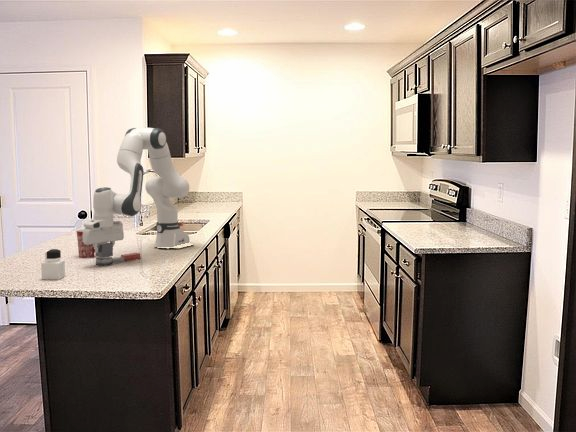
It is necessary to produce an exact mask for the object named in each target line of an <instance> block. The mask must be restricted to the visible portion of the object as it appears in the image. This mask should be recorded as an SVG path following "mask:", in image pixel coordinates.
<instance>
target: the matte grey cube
mask: <svg viewBox="0 0 576 432" xmlns="http://www.w3.org/2000/svg"><path fill="white" fill-rule="evenodd" d="M97 247H98V249H100V253H94V256H95V257H102V258H103V257H113V256H114V254H113V253H114V246H113V243H110V242H104V243H98V246H97Z"/></svg>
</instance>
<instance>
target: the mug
mask: <svg viewBox="0 0 576 432" xmlns="http://www.w3.org/2000/svg"><path fill="white" fill-rule="evenodd" d="M83 230H84V228H82V229H80V228H79V229H76V231H75V232H76V237H77V249H78V250H77V251H78V257H79V258H83V259H85V258H86V259H87V258H93V257H94V256H95V248H94V247H93V244H89V245H88V244H84V243H83Z"/></svg>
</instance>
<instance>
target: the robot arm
mask: <svg viewBox="0 0 576 432" xmlns="http://www.w3.org/2000/svg"><path fill="white" fill-rule="evenodd" d="M144 150H147V153H148V157H149V161H150V165H151V169H152V171H153V173H155V174H157V175H158V176H155V177H149V178H147V180H146V182H145V191H146V193H147V194H148V195H149V196H150V198H151V199H152V200H153V202H154V205H155V208H156V218H157V219H156V236H155V237H156V238H155V243H154V248H155V247H174V246H177V245H181V244H185V243H189V242H190V235H189V234H188V233H187V232H185V231H184V230H183V229H182V228H181V227H183V226H184V222H178V215H179V214H178V212H179V211H178V207H177V206H176V204H175V205H174V204H173V203H172V201H171V200H170V198H176V199H178V198H185V197H186V196H188V194H189V192H190V183H189V182H188V181H187V180H186V179H185V178H184V177H182V176H181V175H180V174H179V172H178V171H177V170H176V168H175V166H174V163H173V161H172V156H171V151H170V149H169V144H168V143H167V134H166V133H165V131H164V130H163V129H161V128H159V127H157V128H156V127H154V128H153V127H138V128H137V127H133V128H129V129H128V130H127V131H126V132H125V135H124V138H123V139H122V141H121V144H120V146H119V149H118V151H117V152H118V153H117V155H116V156H117V157H116V163H117V166H118V167H119V168H120V169H121V170H123V171H124V172H125V173H127V174H129V175H130V186H129V192H128V193H127V194H122V193H117V192H115V191H113V189H112V188H111V187H99V188H96V189H95V190H94V193H93V202H92V203H93V204H92V206H93V210H94V211H93V218H91V219H89V220H87V221H86V222H84V223H83V227H84V228H83V229H84V230H83V243H84V244H88V245H89V244H93V247H94V249H95V253H100V249H98V247H97V246H98V243H104V242H108V243H113V247H115V244H116V242H118V241H122V240H124V238H125V233H124V227H123V226H124V225H123V223H122V221H120V220H115V221H114V214H115V215H124V216H129V217H134V216H136V215H137V214H139V212H140V211H141V208H142V193H143V192H142V191H143V182H144V168H143V165H142V164H141V160H142V156H143V151H144ZM190 243H191V242H190ZM95 253H94V254H95Z"/></svg>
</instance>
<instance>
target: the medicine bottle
mask: <svg viewBox="0 0 576 432" xmlns="http://www.w3.org/2000/svg"><path fill="white" fill-rule="evenodd" d="M61 255H62V254H61V250H60V249H57V248H50V249H47V250H45V251H44V259H45V260H44V261H43V262H41V264H40V265H41V268H40V269H41V280H45V281H47V280H50V281H51V280H52V281H57V280H58V281H59V280H60V279H62V278H64V277H66V276H65V275H66V272H65V271H66V270H65V269H66V267H65V266H66V265H65V259H62V258H61Z"/></svg>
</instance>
